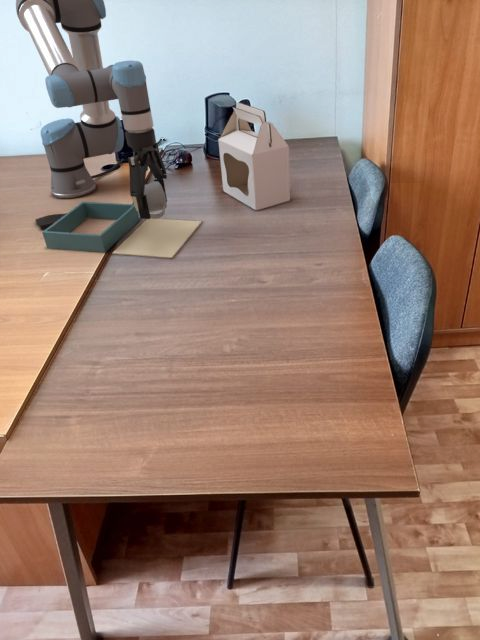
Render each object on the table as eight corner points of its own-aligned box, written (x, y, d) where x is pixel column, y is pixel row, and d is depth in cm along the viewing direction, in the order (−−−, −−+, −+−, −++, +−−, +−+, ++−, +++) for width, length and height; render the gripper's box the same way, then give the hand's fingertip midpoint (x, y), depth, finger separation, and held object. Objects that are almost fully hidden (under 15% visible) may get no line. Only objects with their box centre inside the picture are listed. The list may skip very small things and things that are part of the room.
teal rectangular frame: (86, 216, 171) (82, 201, 168) (139, 219, 167) (136, 204, 164) (47, 248, 154) (41, 232, 151) (105, 252, 150) (101, 236, 147)
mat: (148, 219, 167) (147, 218, 167) (201, 222, 163) (201, 221, 163) (112, 254, 149) (112, 252, 148) (172, 258, 144) (171, 257, 144)
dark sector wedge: (84, 220, 169) (82, 215, 168) (40, 231, 164) (39, 226, 163) (77, 211, 175) (76, 207, 174) (35, 222, 170) (33, 217, 169)
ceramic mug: (133, 210, 153) (127, 183, 148) (160, 203, 155) (155, 177, 151) (145, 222, 145) (139, 195, 140) (173, 215, 148) (168, 188, 143)
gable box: (222, 191, 183) (214, 103, 166) (255, 182, 188) (250, 97, 171) (256, 211, 167) (250, 117, 151) (290, 201, 173) (288, 109, 156)
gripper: (145, 117, 147) (158, 194, 160) (104, 142, 129) (123, 226, 142) (170, 117, 146) (181, 195, 159) (132, 142, 127) (149, 227, 141)
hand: (154, 209), depth 151 cm, fingers closed on ceramic mug, 11 cm apart
